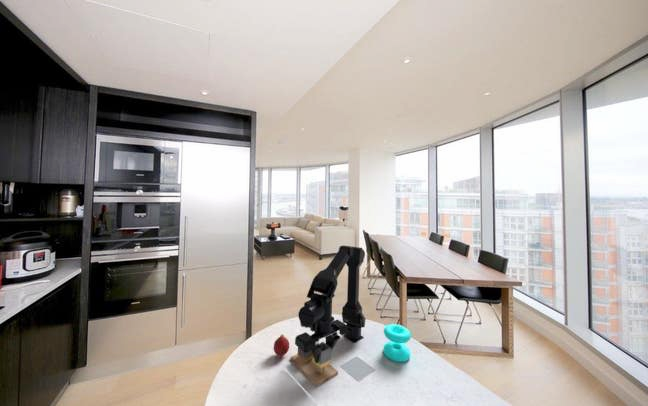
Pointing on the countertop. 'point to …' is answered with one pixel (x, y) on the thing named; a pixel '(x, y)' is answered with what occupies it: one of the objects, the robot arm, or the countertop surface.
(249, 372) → the countertop surface
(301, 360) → the pin board
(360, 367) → the mat
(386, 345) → the donuts
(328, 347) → the sleeve
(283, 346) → the onion
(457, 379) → the countertop surface
